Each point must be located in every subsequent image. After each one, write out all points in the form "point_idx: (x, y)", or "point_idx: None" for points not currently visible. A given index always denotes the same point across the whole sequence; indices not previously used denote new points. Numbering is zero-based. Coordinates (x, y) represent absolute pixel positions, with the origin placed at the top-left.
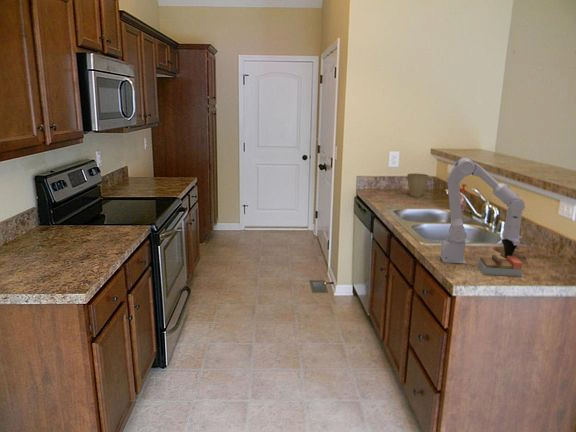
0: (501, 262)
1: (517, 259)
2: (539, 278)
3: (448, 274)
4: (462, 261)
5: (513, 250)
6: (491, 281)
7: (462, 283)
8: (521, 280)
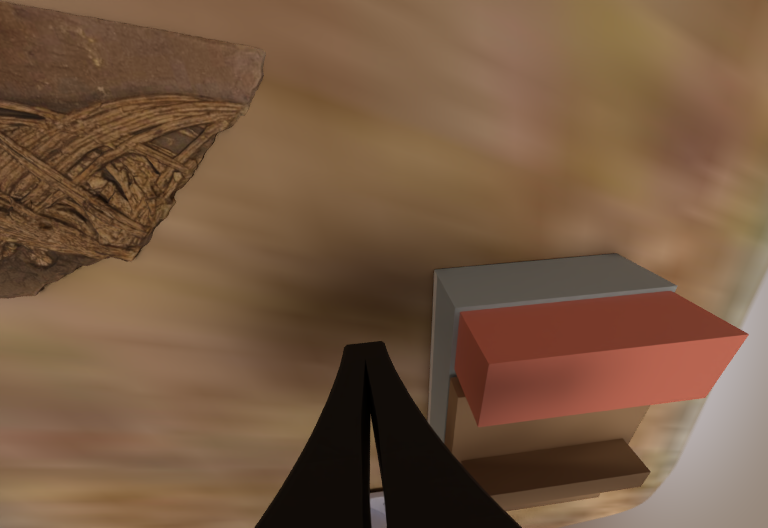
0: (560, 431)
1: (616, 356)
2: (683, 94)
3: (541, 523)
4: (373, 507)
5: (422, 423)
6: (648, 412)
7: (642, 491)
8: (679, 268)
